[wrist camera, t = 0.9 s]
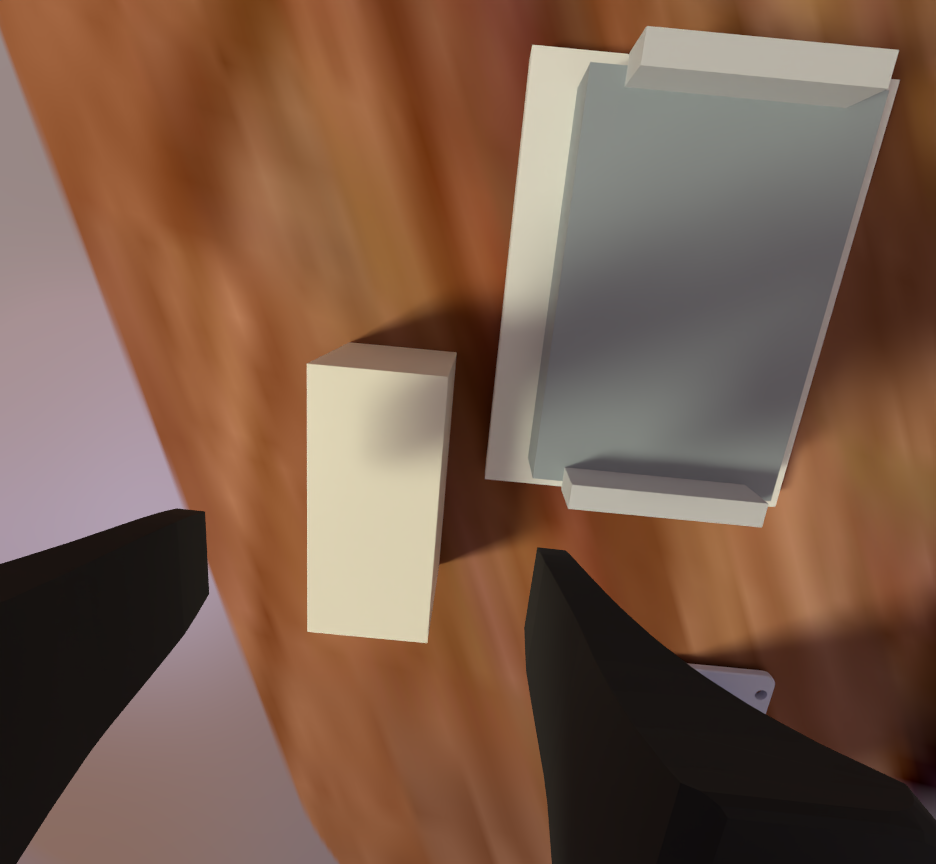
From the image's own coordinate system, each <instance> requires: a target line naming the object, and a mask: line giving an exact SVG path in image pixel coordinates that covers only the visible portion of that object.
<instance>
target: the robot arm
mask: <svg viewBox="0 0 936 864" xmlns="http://www.w3.org/2000/svg"><path fill="white" fill-rule="evenodd" d="M208 595H209V583H208V563H207V543H206V523H205V512H204V511H195V510H186V509H173V510H168V511H164V512H161V513H157V514H154V515H150V516H147V517H143V518H140V519H137V520H134V521H131V522H128V523H126V524H122V525H119V526H116V527H114V528H111V529H108V530H105V531H102V532H99V533H96V534H93V535H90V536H87V537H85V538H82V539H78V540H75V541H73V542H69V543H66V544H63V545H60V546H57V547H54V548H50V549H47V550H44V551H41V552H38V553H34V554H31V555H29V556H25V557H22V558H19V559H15V560H12V561H9V562H5V563H2V564H0V864H16V863H17V862H18V860H19V859H20V857H21V855H22V854H23V852H24V851H25V849H26V848H27V846H28V845H29V843H30V841H31V840H32V838H33V837H34V835H35V834H36V832H37V831H38V829H39V827H40V826H41V824H42V823H43V821H44V820H45V818H46V817H47V815H48V813H49V811H50V810H51V809H52V807H53V806H54V804H55V803H56V801H57V800H58V798H59V797H60V795H61V794H62V792H63V791H64V789H65V788H66V786H67V785H68V783H69V782H70V780H71V779H72V778H73V776H74V775H75V773H76V772H77V770H78V769H79V767H80V766H81V764H82V763H83V761H84V760H85V758H86V757H87V756H88V754H89V753H90V751H91V750H92V748H93V747H94V746H95V745H96V743H97V742H98V741H99V739H100V738H101V737H102V736H103V734H104V733H105V731H106V730H107V729H108V728H109V727H110V725H111V724H112V723H113V722H114V720H115V719H116V718H117V717H118V716H119V714H120V713H121V712H122V711H123V710H124V708H125V707H126V706H127V705H128V703H129V702H130V701H131V700H132V699H133V697H134V696H135V695H136V694H137V692H138V691H139V690H140V689H141V688H142V686H143V685H144V684H145V683H146V681H147V680H148V679H149V678H150V677H151V675H152V674H153V673H154V672H155V671H156V669H157V668H158V667H159V666H160V664H161V663H162V662H163V660H164V659H165V658H166V657H167V655H168V654H169V653H170V652H171V651H172V649H173V648H174V647H175V646H176V644H177V643H178V642H179V641H180V639H181V638H182V637H183V635H184V634H185V632H186V631H187V629H188V628H189V626H190V625H191V623H192V622H193V620H194V618H195V617H196V615H197V613H198V612H199V610H200V608H201V607H202V605H203V603H204V601H205V600H206V598H207V596H208ZM524 629H525V655H526V672H527V678H528V685H529V691H530V697H531V703H532V709H533V715H534V721H535V726H536V732H537V738H538V744H539V750H540V756H541V762H542V767H543V773H544V780H545V788H546V796H547V804H548V817H549V830H550V844H551V857H552V864H936V820H935V819H934V818H933V816H932V815H931V814H930V813H929V812H928V810H927V809H926V808H925V807H924V806H923V804H922V803H921V802H920V801H919V800H918V798H917V797H916V796H915V795H914V794H913V792H912V791H911V790H910V789H909V788H908V786H907V785H906V784H904V783H902V782H900V781H898V780H896V779H893V778H891V777H889V776H887V775H885V774H883V773H881V772H879V771H876V770H874V769H872V768H870V767H868V766H866V765H864V764H862V763H859V762H857V761H855V760H853V759H851V758H849V757H847V756H844V755H842V754H840V753H838V752H836V751H834V750H832V749H830V748H827V747H825V746H823V745H821V744H819V743H817V742H815V741H814V740H812V739H810V738H808V737H806V736H804V735H802V734H801V733H799V732H797V731H795V730H793V729H791V728H789V727H788V726H786V725H784V724H782V723H780V722H778V721H777V720H775V719H773V718H771V717H769V716H768V715H766V712H767V708H768V705H769V702H770V699H771V696H772V693H773V690H774V687H775V681H774V679H773V678H772V676H771V675H770V674H769V673H768V672H766V671H762V670H752V669H741V668H731V667H721V666H710V665H700V664H690V663H686V662H684V661H683V660H682V659H681V658H679V657H678V656H677V655H675V654H674V653H673V652H671V651H670V650H669V649H667V648H666V647H665V646H663V645H662V644H661V643H660V642H659V641H657V640H656V639H655V638H654V637H653V636H651V635H650V634H649V633H648V632H647V631H646V630H645V629H643V628H642V627H641V626H640V625H639V624H638V623H637V622H636V621H634V620H633V619H632V618H631V617H630V616H629V615H628V614H627V613H626V612H625V611H624V610H623V609H622V608H620V607H619V606H618V605H617V604H616V603H615V602H614V601H613V600H612V599H611V598H610V597H609V596H608V595H607V594H606V593H605V592H604V591H603V590H602V588H601V587H600V586H599V585H598V584H597V583H596V582H595V581H594V580H593V579H592V578H591V577H590V576H589V575H588V574H587V573H586V571H585V570H584V569H583V568H582V567H581V566H580V565H579V564H578V563H577V562H576V561H575V560H574V558H573V557H572V556H571V555H570V554H569V553H568V552H567V551H565V550H556V549H547V548H538V547H537V553H536V559H535V565H534V571H533V578H532V584H531V590H530V596H529V602H528V609H527V615H526V621H525V627H524ZM760 690H761V691H760ZM758 691H760V692H758ZM756 692H758V693H756Z"/></svg>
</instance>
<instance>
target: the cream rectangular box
mask: <svg viewBox="0 0 936 864" xmlns="http://www.w3.org/2000/svg"><path fill="white" fill-rule="evenodd" d="M456 356H457V352H448V351H437V350H426V349H416V348H405V347H395V346H384V345H373V344H363V343H352V342H349V343H347V344H345V345H343V346H341V347H339V348H337V349H335V350H333V351H331V352H329V353H327V354H325V355H323V356H321V357H319V358H317V359H315V360H313V361H311V362H309V363H307V632H316V633H326V634H337V635H347V636H358V637H368V638H379V639H390V640H400V641H411V642H421V643H427V641H428V634H429V628H430V621H431V615H432V608H433V602H434V595H435V589H436V582H437V576H438V569H439V561H440V549H441V537H442V525H443V513H444V501H445V489H446V477H447V465H448V453H449V441H450V428H451V416H452V404H453V392H454V380H455V368H456Z"/></svg>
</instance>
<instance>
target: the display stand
mask: <svg viewBox="0 0 936 864" xmlns="http://www.w3.org/2000/svg"><path fill="white" fill-rule="evenodd" d="M898 52H899V50H894V49H883V48H872V47H862V46H851V45H841V44H830V43H820V42H809V41H799V40H788V39H778V38H767V37H757V36H746V35H736V34H725V33H715V32H704V31H694V30H683V29H673V28H662V27H652V26H647V27H646V28H645V30H644V31H643V33H642V34H641V36H640V38H639V39H638V41H637V42H636V44H635V45H634V47H633V48H632V50H631V51H630V54H624V53H613V52H603V51H592V50H582V49H571V48H561V47H550V46H540V45H532V50H531V54H530V60H529V69H528V78H527V87H526V96H525V106H524V115H523V124H522V133H521V143H520V152H519V161H518V170H517V179H516V189H515V198H514V207H513V216H512V225H511V235H510V244H509V253H508V262H507V272H506V281H505V290H504V299H503V308H502V318H501V327H500V336H499V345H498V354H497V364H496V373H495V382H494V391H493V401H492V410H491V419H490V428H489V437H488V447H487V456H486V465H485V479H490V480H500V481H511V482H521V483H531V484H542V485H552V486H562V488H561V490H562V493H563V496H564V498H565V501H566V504H567V507H568V509H577V510H587V511H597V512H608V513H618V514H628V515H639V516H649V517H659V518H670V519H680V520H690V521H701V522H711V523H722V524H732V525H742V526H753V527H762V525H763V522H764V518H765V515H766V511H767V508H768V506H770V507H775V506H776V502H777V499H778V495H779V492H780V489H781V485H782V482H783V478H784V475H785V471H786V468H787V465H788V461H789V458H790V454H791V451H792V448H793V444H794V441H795V437H796V434H797V430H798V427H799V424H800V420H801V417H802V413H803V410H804V406H805V403H806V400H807V396H808V393H809V389H810V386H811V383H812V379H813V376H814V372H815V369H816V365H817V362H818V359H819V355H820V352H821V348H822V345H823V341H824V338H825V335H826V331H827V328H828V324H829V321H830V318H831V314H832V311H833V307H834V304H835V300H836V297H837V294H838V290H839V287H840V283H841V280H842V276H843V273H844V270H845V266H846V263H847V259H848V256H849V252H850V249H851V246H852V242H853V239H854V235H855V232H856V229H857V225H858V222H859V218H860V215H861V211H862V208H863V205H864V201H865V198H866V194H867V191H868V187H869V184H870V181H871V177H872V174H873V170H874V167H875V164H876V160H877V157H878V153H879V150H880V146H881V143H882V140H883V136H884V133H885V129H886V126H887V122H888V119H889V116H890V112H891V109H892V105H893V102H894V99H895V95H896V92H897V88H898V85H899V81H900V80H897V79H891V77H892V73H893V70H894V66H895V63H896V59H897V56H898Z"/></svg>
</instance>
